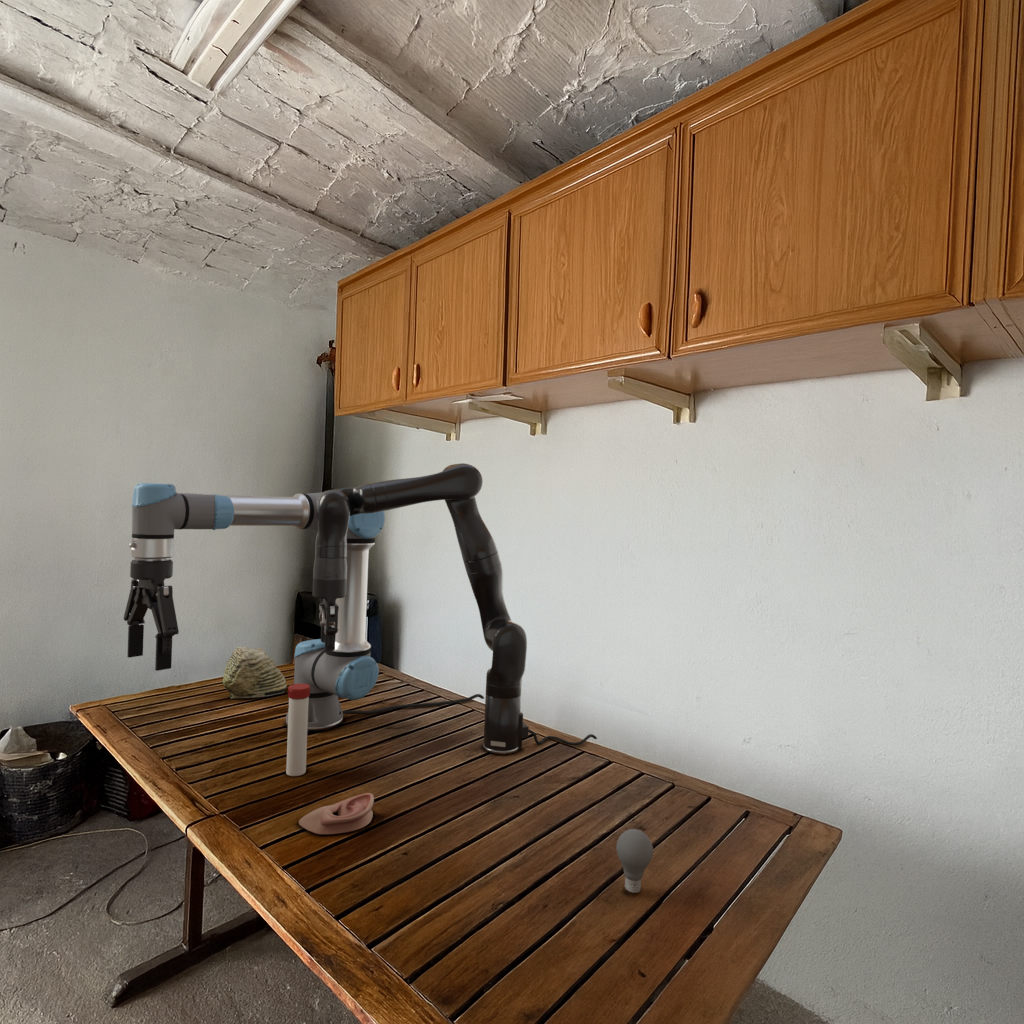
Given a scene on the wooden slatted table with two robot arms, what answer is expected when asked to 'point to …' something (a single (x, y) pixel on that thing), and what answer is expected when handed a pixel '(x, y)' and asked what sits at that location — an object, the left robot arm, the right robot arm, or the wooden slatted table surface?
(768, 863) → the wooden slatted table surface
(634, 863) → the light bulb
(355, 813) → the anatomical model
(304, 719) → the white tube
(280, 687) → the fossil
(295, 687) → the lid
